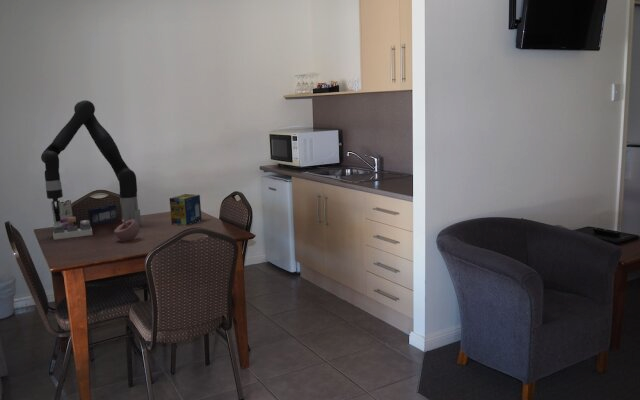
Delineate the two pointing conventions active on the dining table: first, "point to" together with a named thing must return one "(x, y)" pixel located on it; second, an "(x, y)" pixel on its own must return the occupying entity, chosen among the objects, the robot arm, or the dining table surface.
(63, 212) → the candy bar box
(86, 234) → the grey knob panel
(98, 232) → the dining table surface
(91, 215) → the vhs cassette tape
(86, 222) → the plunger
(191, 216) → the protein box
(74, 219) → the dial knob
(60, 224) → the plunger
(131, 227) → the mortar and pestle
